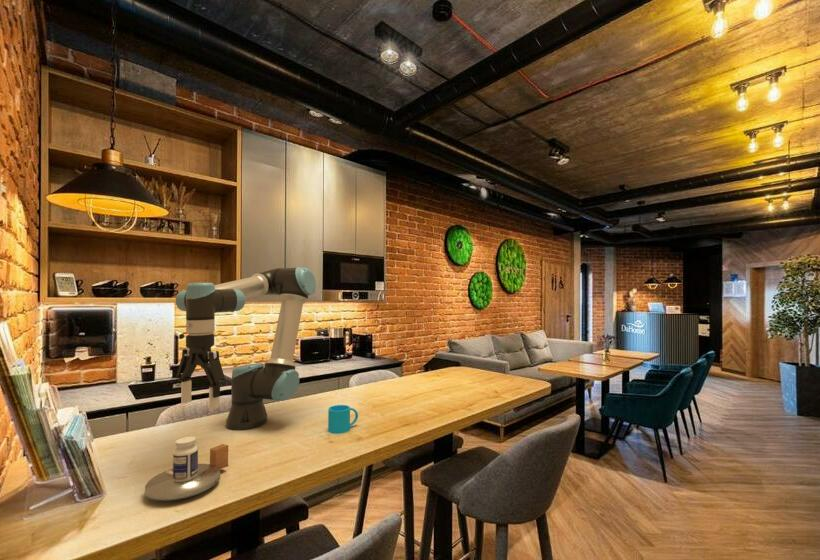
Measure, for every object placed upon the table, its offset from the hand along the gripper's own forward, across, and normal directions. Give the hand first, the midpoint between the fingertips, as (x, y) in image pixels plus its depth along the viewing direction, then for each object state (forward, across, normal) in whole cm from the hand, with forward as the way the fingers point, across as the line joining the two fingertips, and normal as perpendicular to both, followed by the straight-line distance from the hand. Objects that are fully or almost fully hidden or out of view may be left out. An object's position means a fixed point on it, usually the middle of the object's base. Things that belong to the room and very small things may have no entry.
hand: (199, 405), depth 112 cm
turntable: (+17, +9, -8) cm, 20 cm away
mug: (+19, +19, +45) cm, 52 cm away
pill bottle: (+15, +8, -10) cm, 20 cm away
